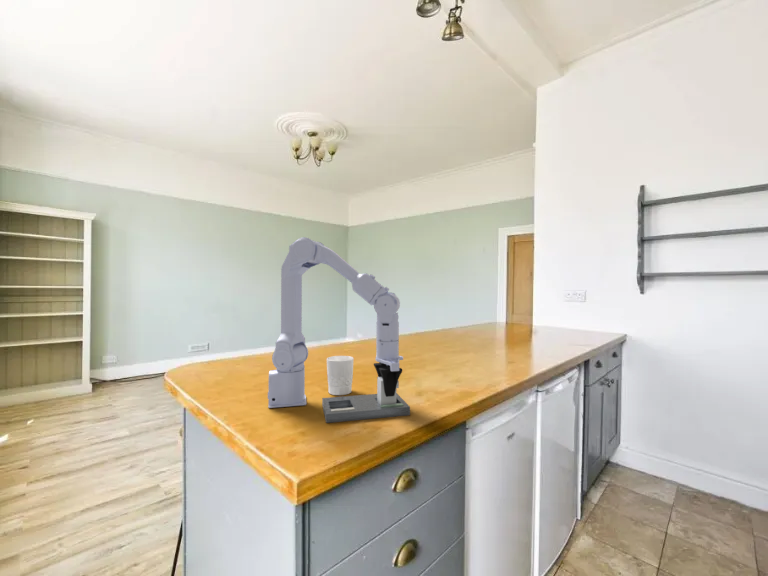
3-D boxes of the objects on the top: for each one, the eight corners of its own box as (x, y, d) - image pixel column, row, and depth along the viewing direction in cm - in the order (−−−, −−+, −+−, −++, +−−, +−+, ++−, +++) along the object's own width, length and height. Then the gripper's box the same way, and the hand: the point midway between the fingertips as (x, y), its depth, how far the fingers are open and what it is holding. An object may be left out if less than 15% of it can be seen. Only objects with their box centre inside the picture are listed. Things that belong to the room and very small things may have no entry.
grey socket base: (326, 423, 79) (326, 413, 79) (322, 405, 91) (322, 397, 91) (409, 415, 84) (409, 405, 84) (396, 399, 96) (396, 391, 96)
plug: (380, 409, 86) (381, 381, 86) (377, 404, 90) (377, 377, 90) (399, 407, 87) (399, 379, 87) (395, 402, 91) (395, 376, 91)
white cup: (327, 388, 106) (327, 355, 106) (353, 387, 107) (353, 355, 107) (325, 396, 98) (325, 361, 99) (353, 395, 99) (353, 360, 99)
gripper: (411, 343, 83) (411, 400, 83) (394, 335, 97) (394, 384, 97) (382, 344, 81) (382, 403, 81) (369, 336, 95) (369, 386, 95)
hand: (387, 393), depth 89 cm, fingers closed on plug, 4 cm apart
